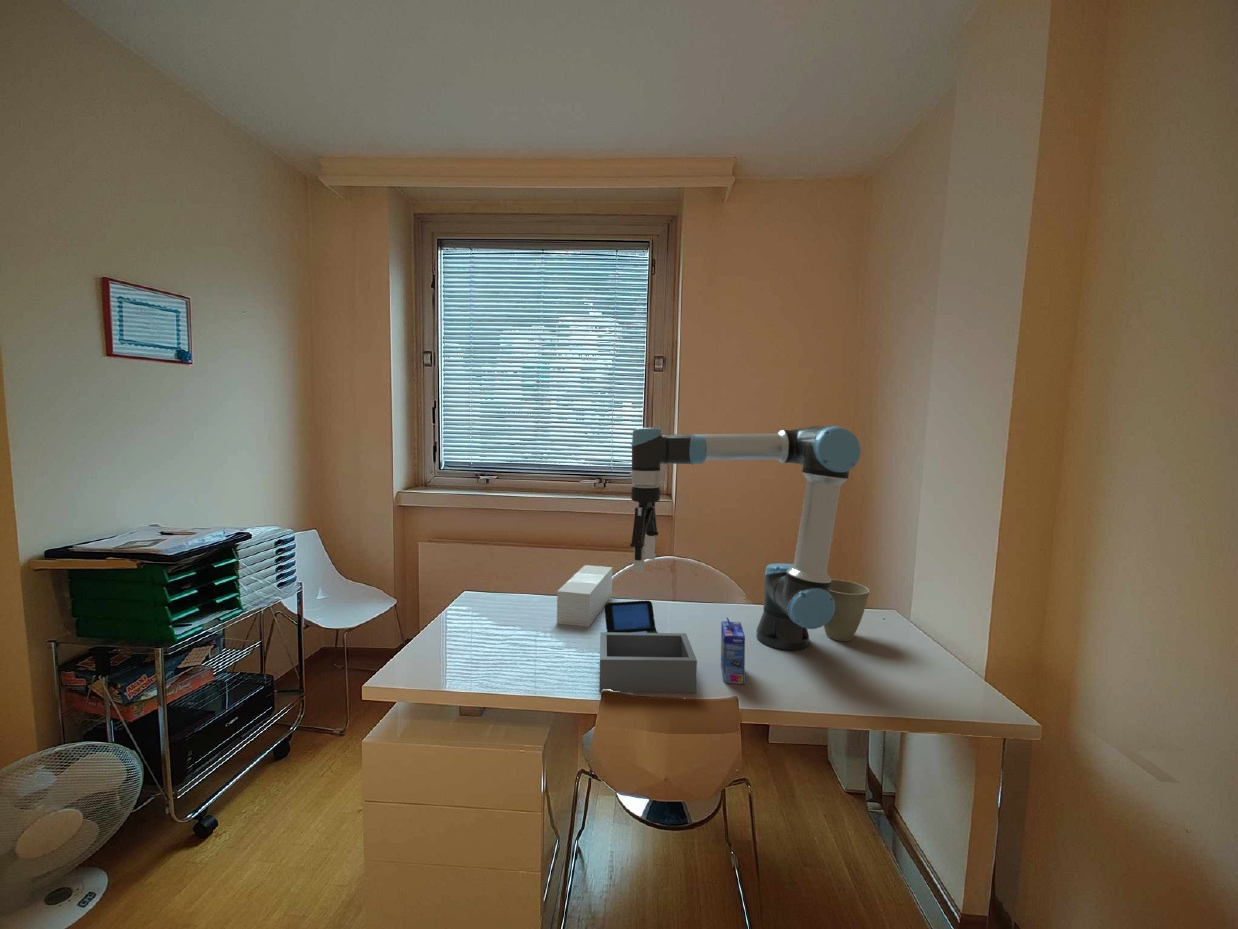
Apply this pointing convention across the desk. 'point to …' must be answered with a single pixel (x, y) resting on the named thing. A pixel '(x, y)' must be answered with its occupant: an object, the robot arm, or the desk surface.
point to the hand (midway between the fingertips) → (644, 565)
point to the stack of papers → (584, 595)
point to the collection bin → (647, 663)
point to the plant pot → (846, 609)
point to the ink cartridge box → (732, 652)
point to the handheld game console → (630, 617)
